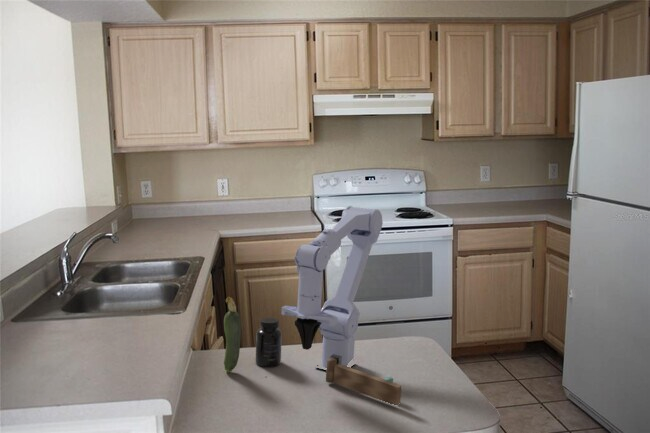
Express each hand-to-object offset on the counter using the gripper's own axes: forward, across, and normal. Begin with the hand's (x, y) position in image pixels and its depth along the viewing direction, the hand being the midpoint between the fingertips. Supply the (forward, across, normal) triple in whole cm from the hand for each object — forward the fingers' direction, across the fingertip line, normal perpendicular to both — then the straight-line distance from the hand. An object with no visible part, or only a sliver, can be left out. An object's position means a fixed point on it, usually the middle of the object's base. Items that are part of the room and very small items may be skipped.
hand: (307, 348), depth 143 cm
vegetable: (+10, -19, -5) cm, 22 cm away
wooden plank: (+9, +14, +2) cm, 17 cm away
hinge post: (+9, +5, +6) cm, 12 cm away
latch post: (+9, +20, +4) cm, 23 cm away
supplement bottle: (+10, -15, +6) cm, 19 cm away
